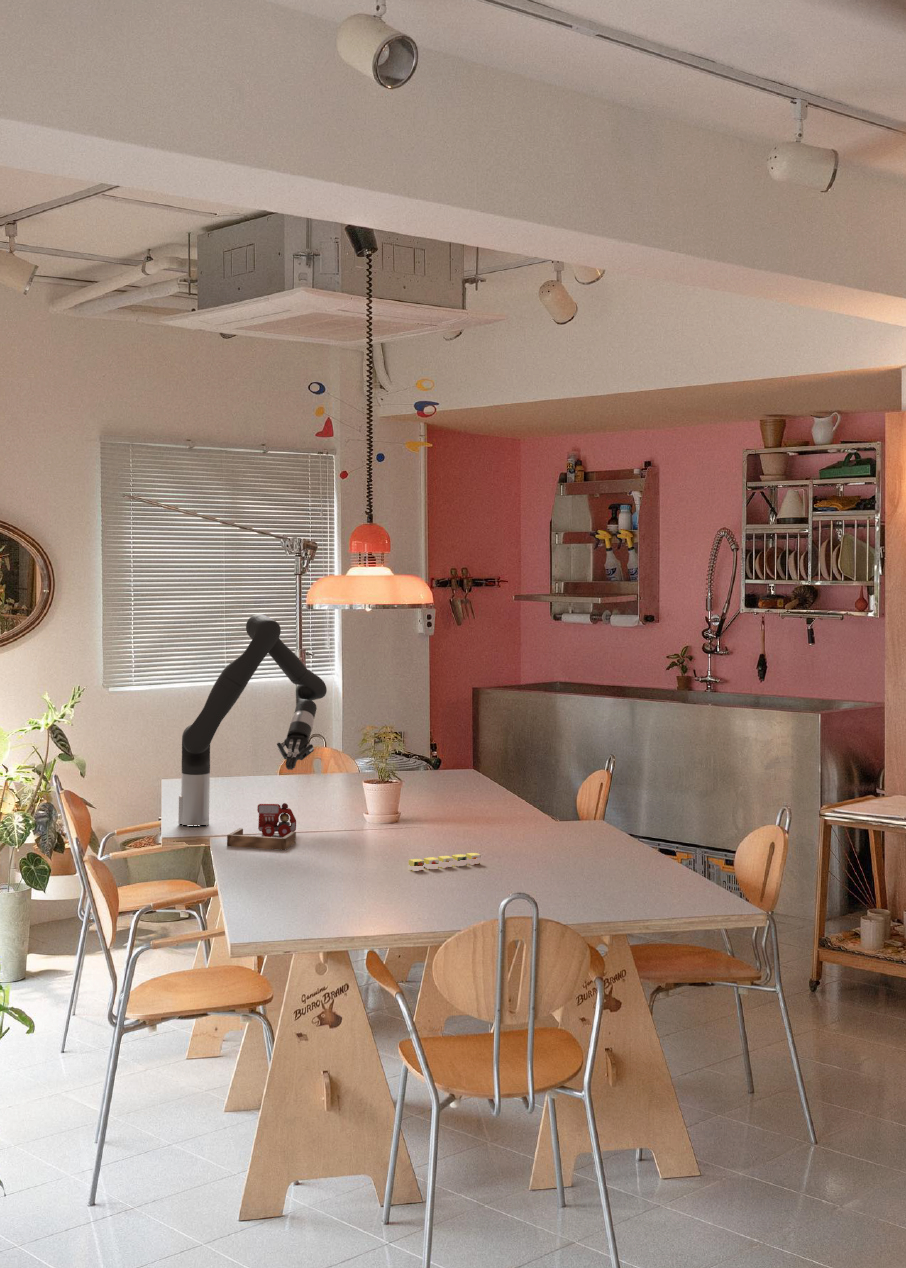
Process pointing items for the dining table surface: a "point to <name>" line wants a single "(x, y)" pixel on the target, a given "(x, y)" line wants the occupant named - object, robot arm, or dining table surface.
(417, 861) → the yellow cube chain
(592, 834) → the dining table surface
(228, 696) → the robot arm
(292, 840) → the walnut cradle
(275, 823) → the toy fire truck
